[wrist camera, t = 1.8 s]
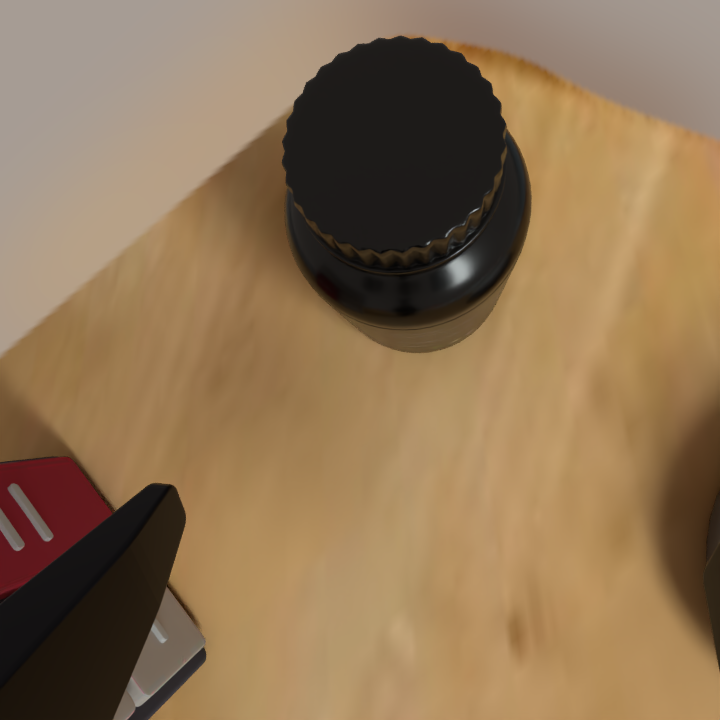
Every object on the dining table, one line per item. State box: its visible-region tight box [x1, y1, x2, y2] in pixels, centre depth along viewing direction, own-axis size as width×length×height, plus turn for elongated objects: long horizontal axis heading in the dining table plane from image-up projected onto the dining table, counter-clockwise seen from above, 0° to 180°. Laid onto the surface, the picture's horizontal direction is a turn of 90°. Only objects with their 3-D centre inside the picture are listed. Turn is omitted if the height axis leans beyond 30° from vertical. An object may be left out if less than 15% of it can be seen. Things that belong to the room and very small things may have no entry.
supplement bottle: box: [282, 36, 532, 353], centre depth 17 cm, size 7×7×12 cm
